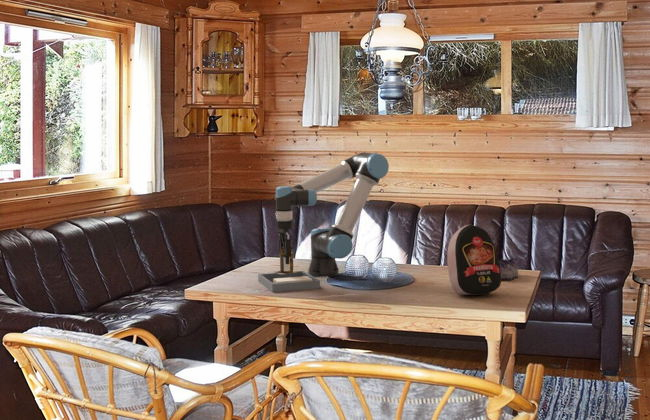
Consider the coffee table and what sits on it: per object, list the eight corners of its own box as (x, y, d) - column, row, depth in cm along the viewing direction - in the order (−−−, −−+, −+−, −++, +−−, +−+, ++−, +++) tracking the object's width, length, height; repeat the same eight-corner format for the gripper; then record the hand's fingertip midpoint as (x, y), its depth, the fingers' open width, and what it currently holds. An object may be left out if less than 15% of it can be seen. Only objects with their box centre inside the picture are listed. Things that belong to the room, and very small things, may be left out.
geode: (499, 273, 429) (502, 253, 427) (522, 278, 423) (525, 258, 422) (485, 279, 411) (488, 258, 409) (509, 284, 405) (512, 263, 404)
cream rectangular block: (307, 284, 402) (306, 276, 401) (312, 287, 394) (312, 279, 394) (273, 287, 397) (273, 278, 396) (277, 290, 389) (277, 281, 389)
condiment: (297, 272, 406) (296, 247, 404) (281, 274, 401) (280, 248, 400) (288, 270, 412) (288, 245, 410) (273, 272, 407) (272, 246, 406)
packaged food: (463, 301, 367) (464, 230, 364) (439, 292, 385) (439, 224, 382) (507, 296, 376) (508, 226, 372) (481, 288, 394) (482, 221, 390)
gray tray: (303, 280, 418) (303, 270, 417) (320, 290, 393) (319, 280, 393) (258, 283, 411) (258, 274, 411) (272, 294, 387) (272, 284, 386)
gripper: (271, 218, 411) (271, 266, 414) (281, 222, 393) (282, 273, 396) (286, 217, 414) (287, 265, 416) (297, 222, 396) (298, 272, 398)
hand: (285, 269), depth 406 cm, fingers closed on condiment, 6 cm apart
